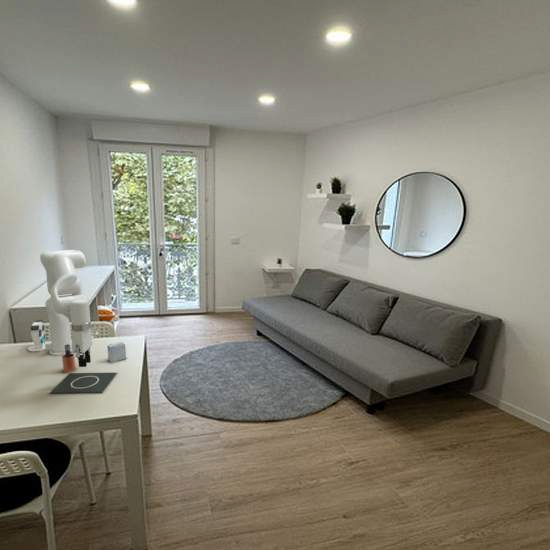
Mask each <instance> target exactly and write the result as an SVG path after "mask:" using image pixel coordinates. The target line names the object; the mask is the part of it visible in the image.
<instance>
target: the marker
mask: <svg viewBox="0 0 550 550" xmlns="http://www.w3.org/2000/svg"><path fill="white" fill-rule="evenodd" d="M71 354H72V352H71V353H70V345H69V344H68V345H65V354H64V355H66V358H68V357H71Z"/></svg>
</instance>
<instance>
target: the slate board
mask: <svg viewBox="0 0 550 550" xmlns="http://www.w3.org/2000/svg"><path fill="white" fill-rule="evenodd" d="M116 375H117V372H69V374H67V376H65V377H64V378H63V379H62V380H61V381H60V382H59V383H58V384H57V386H55V388H53V389H52V390H51V391H50V393H49V394H50V395H51V394H52V395H57V394H58V395H59V394H63V395H64V394H65V395H67V394H102V393H103V392H104V391H105V389H106V388H107V387H108V385H110V383H111V382H112V380H113V379H114V377H115V376H116Z"/></svg>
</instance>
